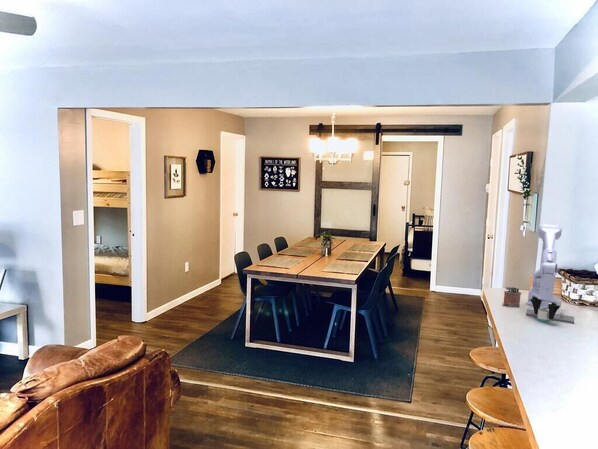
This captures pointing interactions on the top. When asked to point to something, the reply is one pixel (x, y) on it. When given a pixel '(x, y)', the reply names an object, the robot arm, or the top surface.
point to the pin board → (557, 317)
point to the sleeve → (543, 315)
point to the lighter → (512, 297)
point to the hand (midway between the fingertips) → (543, 316)
